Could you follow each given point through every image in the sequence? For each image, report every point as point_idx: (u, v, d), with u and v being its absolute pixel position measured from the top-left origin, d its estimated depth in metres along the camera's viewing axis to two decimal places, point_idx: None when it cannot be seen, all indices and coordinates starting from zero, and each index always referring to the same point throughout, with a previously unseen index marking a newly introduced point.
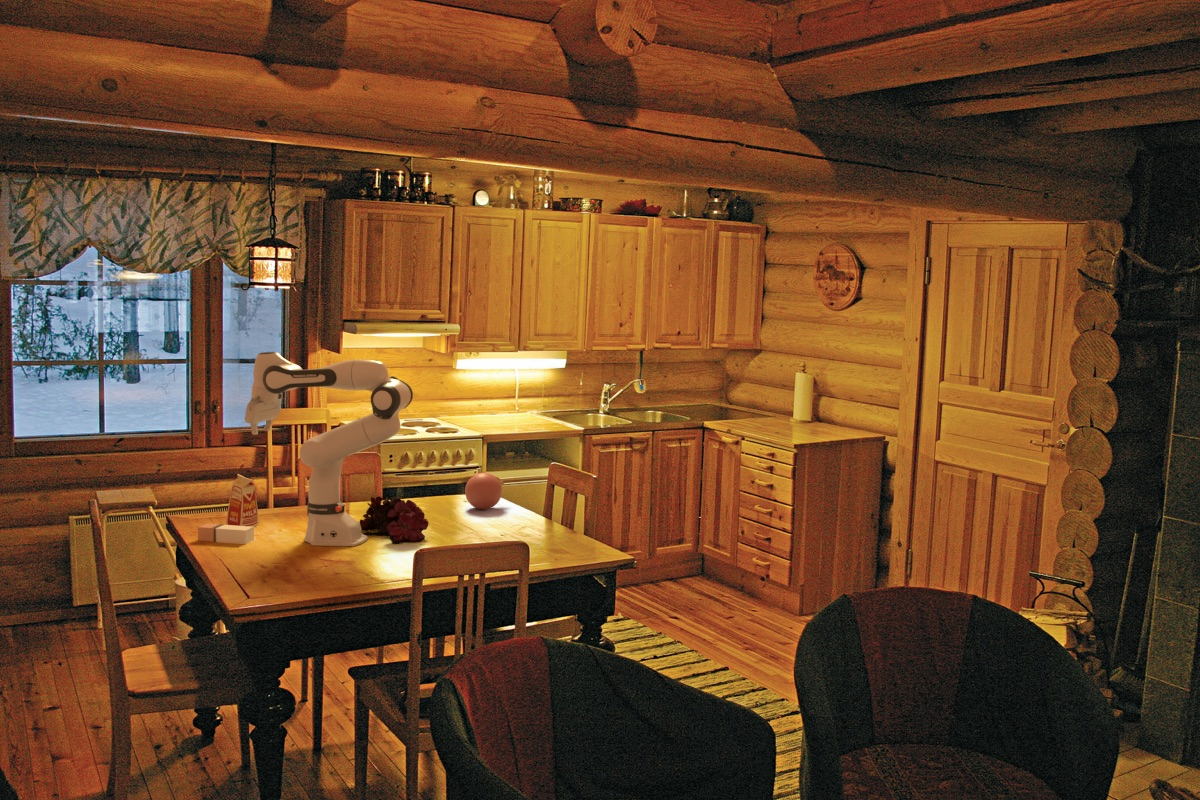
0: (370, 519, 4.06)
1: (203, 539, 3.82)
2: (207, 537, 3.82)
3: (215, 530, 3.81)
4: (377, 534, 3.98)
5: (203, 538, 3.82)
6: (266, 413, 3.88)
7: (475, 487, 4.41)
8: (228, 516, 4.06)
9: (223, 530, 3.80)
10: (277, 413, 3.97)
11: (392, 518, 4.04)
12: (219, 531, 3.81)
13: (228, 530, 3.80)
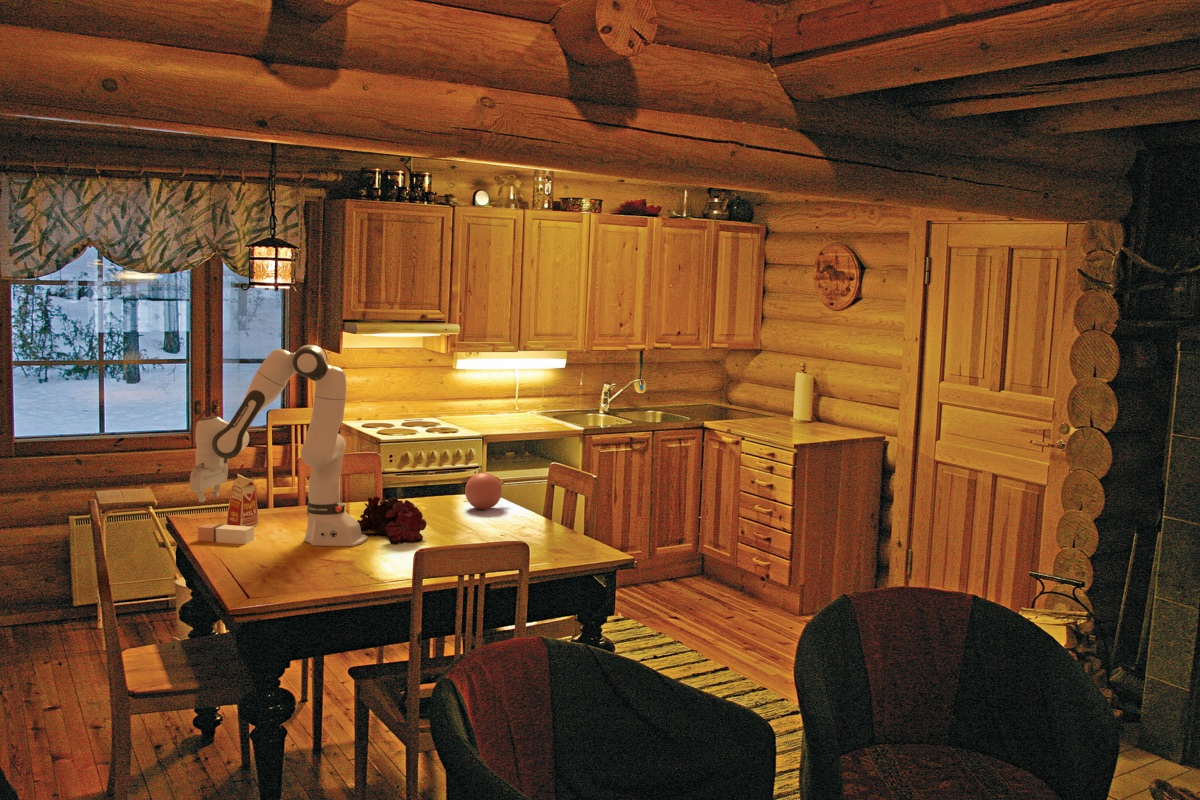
0: (367, 519, 4.05)
1: (203, 539, 3.82)
2: (207, 537, 3.82)
3: (215, 530, 3.81)
4: (375, 534, 3.97)
5: (203, 538, 3.82)
6: (212, 479, 3.81)
7: (475, 487, 4.41)
8: (228, 516, 4.06)
9: (223, 530, 3.80)
10: (225, 478, 3.90)
11: (389, 518, 4.03)
12: (219, 531, 3.81)
13: (228, 530, 3.80)
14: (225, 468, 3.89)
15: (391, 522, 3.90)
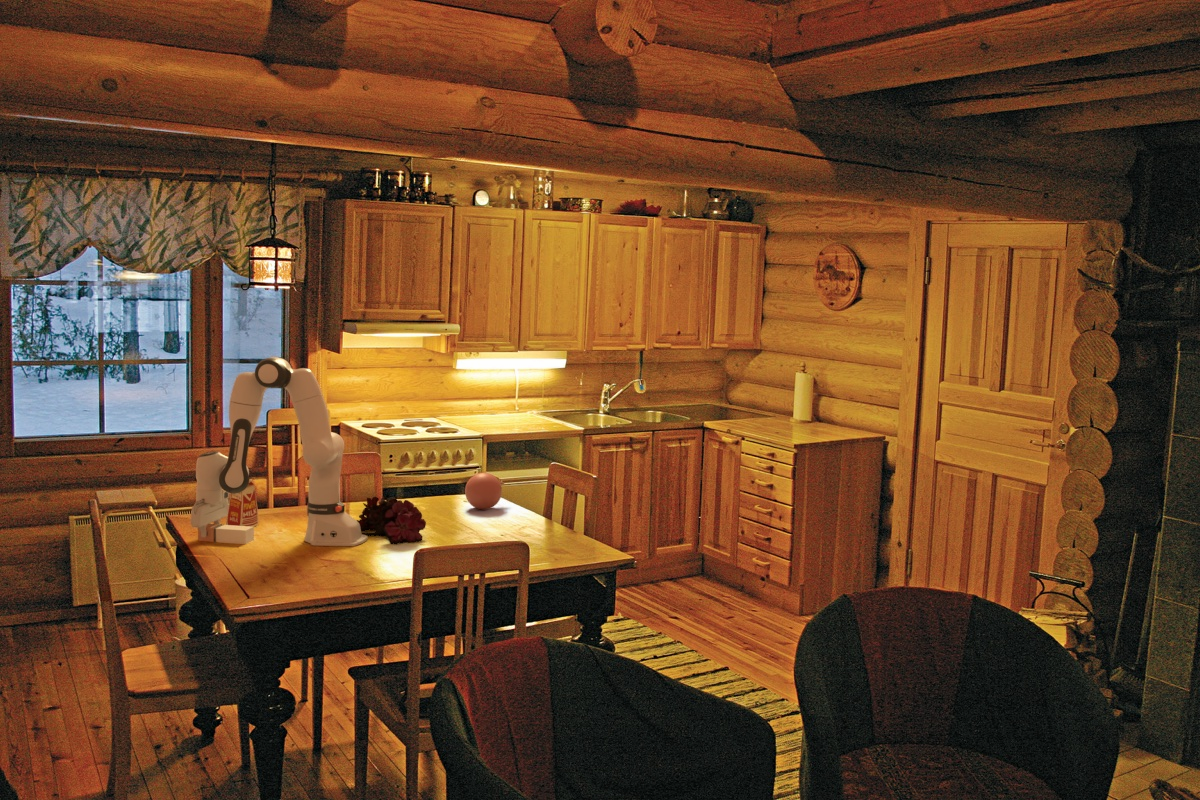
0: (366, 520, 4.05)
1: (203, 539, 3.82)
2: (206, 537, 3.82)
3: (215, 530, 3.81)
4: (374, 534, 3.97)
5: (203, 538, 3.82)
6: (213, 514, 3.83)
7: (475, 487, 4.41)
8: (228, 516, 4.06)
9: (223, 530, 3.80)
10: (226, 512, 3.92)
11: (388, 518, 4.03)
12: (219, 531, 3.81)
13: (228, 530, 3.80)
14: (226, 502, 3.91)
15: (391, 522, 3.90)
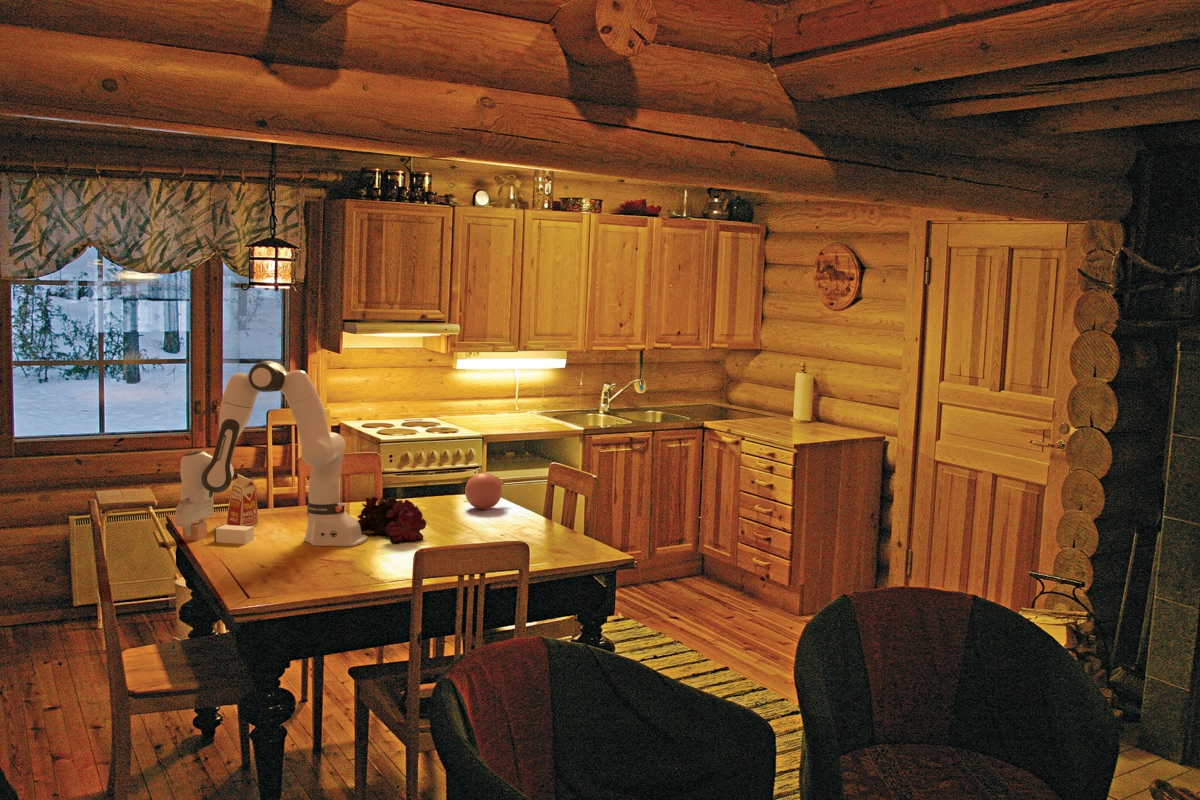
0: (365, 520, 4.05)
1: (188, 538, 3.83)
2: (191, 536, 3.83)
3: (215, 530, 3.81)
4: (374, 535, 3.97)
5: (187, 537, 3.83)
6: (197, 513, 3.84)
7: (475, 487, 4.41)
8: (228, 516, 4.06)
9: (223, 530, 3.80)
10: (210, 511, 3.93)
11: (388, 518, 4.03)
12: (219, 531, 3.81)
13: (228, 530, 3.80)
14: (211, 501, 3.92)
15: (392, 522, 3.90)
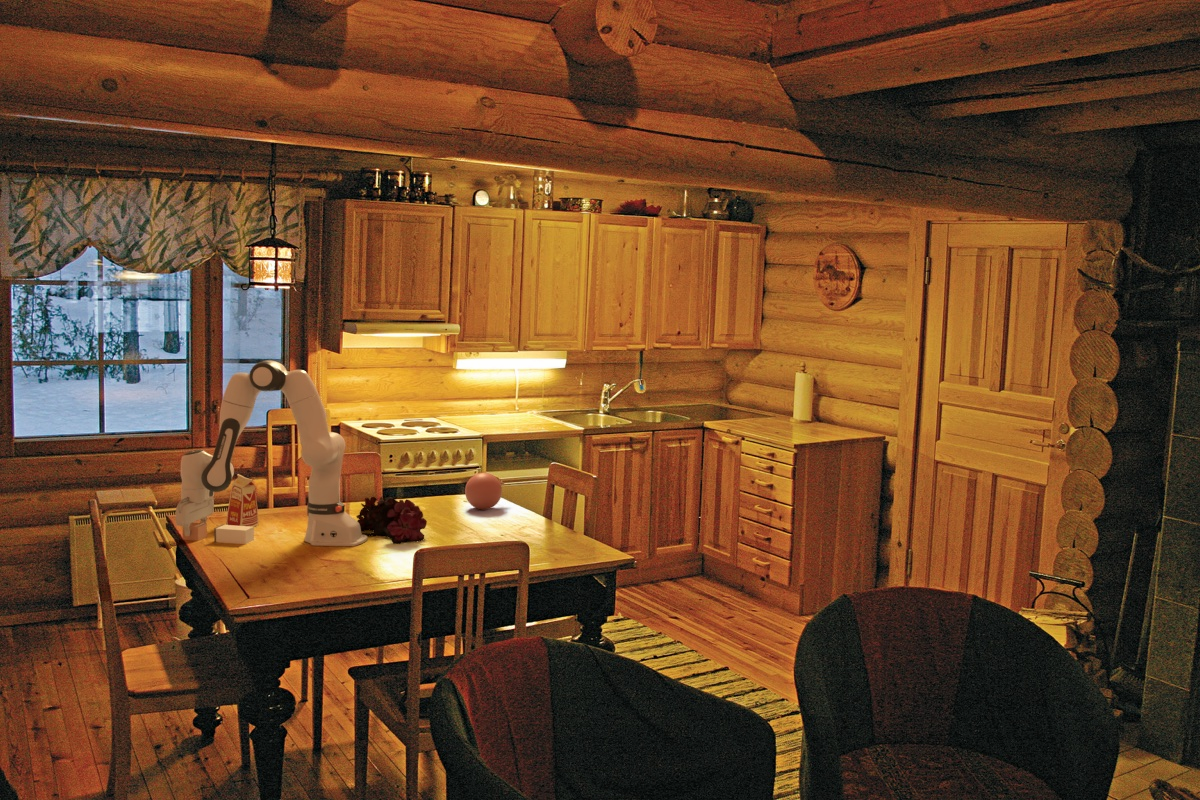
0: (364, 520, 4.05)
1: (188, 538, 3.83)
2: (191, 536, 3.83)
3: (215, 530, 3.81)
4: (374, 535, 3.97)
5: (187, 537, 3.83)
6: (198, 513, 3.84)
7: (475, 487, 4.41)
8: (228, 516, 4.06)
9: (223, 530, 3.80)
10: (211, 510, 3.93)
11: (387, 518, 4.03)
12: (219, 531, 3.81)
13: (228, 530, 3.80)
14: (211, 501, 3.92)
15: (393, 522, 3.90)
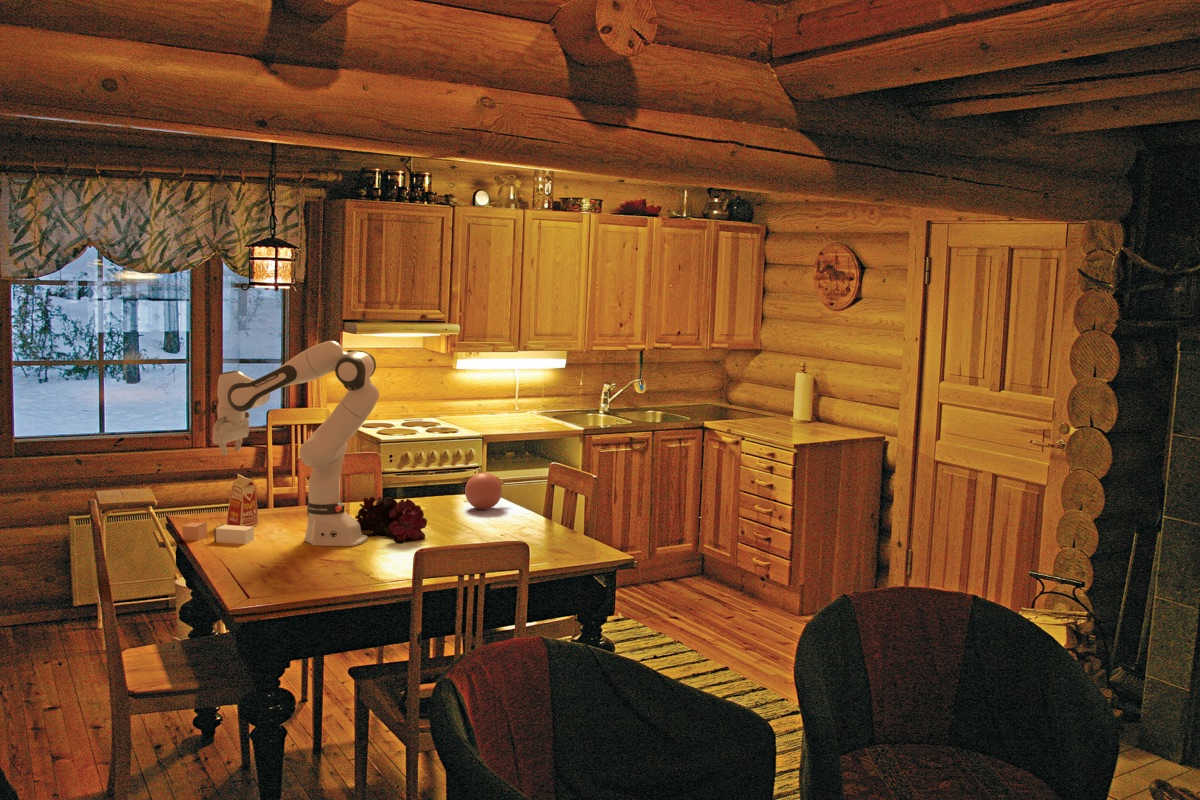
0: (363, 520, 4.04)
1: (188, 538, 3.83)
2: (191, 536, 3.83)
3: (215, 530, 3.81)
4: (374, 535, 3.97)
5: (187, 537, 3.83)
6: (234, 433, 3.87)
7: (475, 487, 4.41)
8: (228, 516, 4.06)
9: (223, 530, 3.80)
10: (246, 432, 3.96)
11: (386, 518, 4.04)
12: (219, 531, 3.81)
13: (228, 530, 3.80)
14: (246, 423, 3.95)
15: (394, 521, 3.91)
